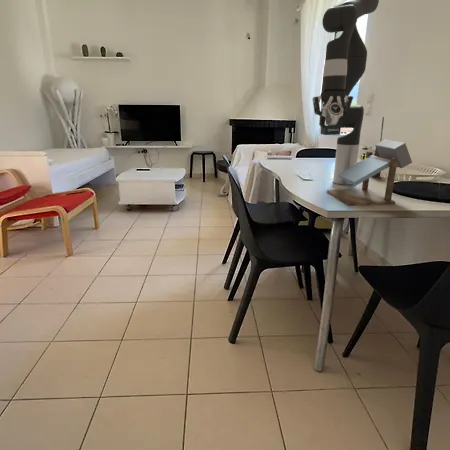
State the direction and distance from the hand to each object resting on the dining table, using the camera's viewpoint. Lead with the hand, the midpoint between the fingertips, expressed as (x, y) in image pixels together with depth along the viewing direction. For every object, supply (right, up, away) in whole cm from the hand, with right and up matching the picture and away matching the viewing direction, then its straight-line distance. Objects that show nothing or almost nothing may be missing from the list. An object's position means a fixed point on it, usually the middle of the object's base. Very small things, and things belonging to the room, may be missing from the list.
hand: (329, 127), depth 117 cm
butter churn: (+37, -11, +45) cm, 60 cm away
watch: (0, -3, +1) cm, 3 cm away
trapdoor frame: (+13, -25, +8) cm, 29 cm away
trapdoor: (+19, -16, +5) cm, 25 cm away
